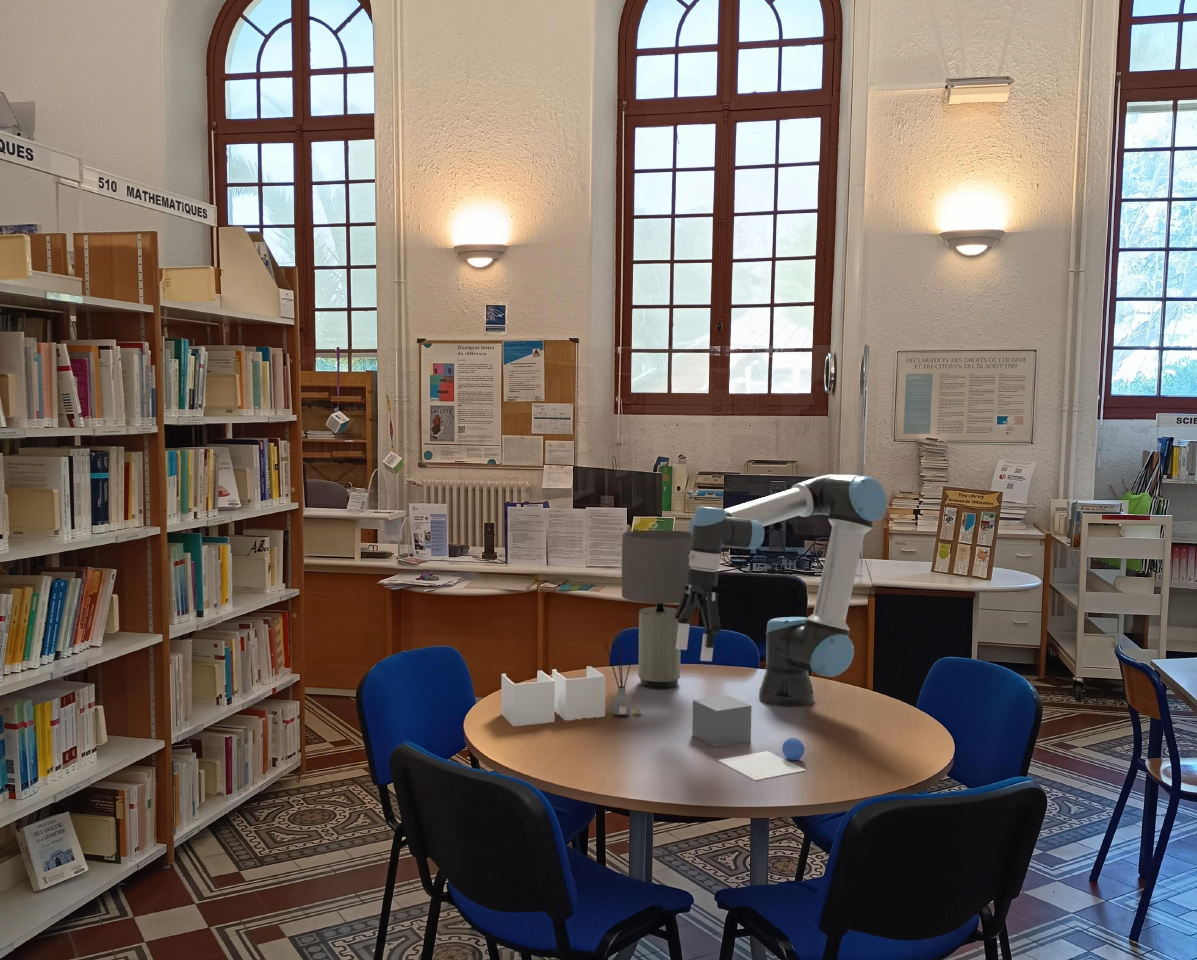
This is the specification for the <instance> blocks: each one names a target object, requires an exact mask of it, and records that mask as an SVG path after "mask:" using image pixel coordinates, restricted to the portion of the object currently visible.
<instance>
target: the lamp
mask: <svg viewBox="0 0 1197 960" xmlns="http://www.w3.org/2000/svg"><path fill="white" fill-rule="evenodd" d="M621 540H622V543H621V548H622V549H621V597H622V598H623V599H625V600H628V601H632V602H638V603H645V604H646V603H647V604H656V606H652V607H651V606H650V607H643V608H641V609H639V611H638V612H639V613H638V615H639V616H638V678H639V679H640V681H639V683H640V686H641V687H644V688H646V689H650V690H670V689H671V690H672V689H675V688H677V687H678V686H679V680H680V678H681V650H680V649H676V643H677V635H678V626H679V623H678V619H675V614H676V611H677V609H678V608H674V607H667V606H664V605H665V604H679V603H680V600H681V598H682V595H683V591H684V586H685V585H692V584H688V583H687V574H688V570H689V568H691V566H689V555H690V550H691V540H692V535H691V533H690V531H685V530H684V531H681V530H666V529H665V530H664V529H662V530H661V529H660V530H659V529H656V530H655V529H650V530H649V529H647V530H632V531H626V532H625V531H624V532H623V533H622V539H621ZM680 614H681V613H680Z"/></svg>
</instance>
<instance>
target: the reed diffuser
mask: <svg viewBox="0 0 1197 960" xmlns="http://www.w3.org/2000/svg"><path fill="white" fill-rule="evenodd" d="M604 644H605V647H606V650H607V653H608V657H609V660H610V663H611V667H612V671H613V673H614V677H615V680H616V684H617V694H616V695H614V696H613V697H612V700H611V702H612V705H611V706H612V713H613V714H614V715H617V716H626V715H629V714H630V713H631V698H630V697H629V695H627V694H626V684H627V680H628V676H629V673H630V668H631V665H632V660H633V656H634V652H635V648H636V644H637V640H635V642H634V644H633V645H634V646H633V650H632V653H631V658H630V661H629V665H628V667H627V668H628V669H627V673H626V677H625V680H624V684H623V670H622V669H623V665H622V664H623V663H622V639H621V638H620V639H619V647H618V640H617V639H616V640H615V646H616V653H617V654H616V655H617V662H618V673H619V680H620V681H619V682H618V678H617V675H616V671H615V668H614V665H613V664H614V663H613V662H612V658H611V654H610V651H609V648H608V644H607V642H605V643H604ZM619 654H620V657H619ZM619 683H620V685H619ZM643 713H644V712H643V709H642V707H641V706H640V705H639V706H637V707H636V709H635V710H633V714H634V715H636V716H637V715H639V716H642V715H643Z"/></svg>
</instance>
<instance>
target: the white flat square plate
mask: <svg viewBox="0 0 1197 960" xmlns="http://www.w3.org/2000/svg"><path fill="white" fill-rule="evenodd" d="M717 762H720V763H721V764H722V765H724V766H727V767H728V768H730V769H732V770H734V771H736V772H738V773H740V774H741V775H743V776H745V777H746V778H749V779H751V780H752V781H755V782H756V781H757V780H758V781H762V780H767V778H768V779H771V778H772V777H773V778H777V776H778V777H782V775H783V776H786V775H787V774H788V775H791V774H792V775H794V774H797V772H798V773H802V771H803V772H807V769H805V768H803V767H801V766H799V765H797V764H795V763H793V762H791V761H790V760H787V759H784V758H782V757H780V756H778V755H777V754H774V753H772V752H770V751H768V750H766V751H761V752H754V753H750V754H743V755H737V756H733V757H732V756H731V757H727V758H721V759H717ZM758 781H757V782H758Z"/></svg>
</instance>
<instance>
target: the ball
mask: <svg viewBox="0 0 1197 960" xmlns="http://www.w3.org/2000/svg"><path fill="white" fill-rule="evenodd" d="M781 750H782V753H783V756H784V757H785V758H786V759H788V760H789V761H798V760H799V759H802V758H803V756H804V754H805V746H804V743H803V742H802V741H801V740H800V739H798V738H796V737H790V738H788V739H786V740H785V741H784V742H783V744H782V749H781Z"/></svg>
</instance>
